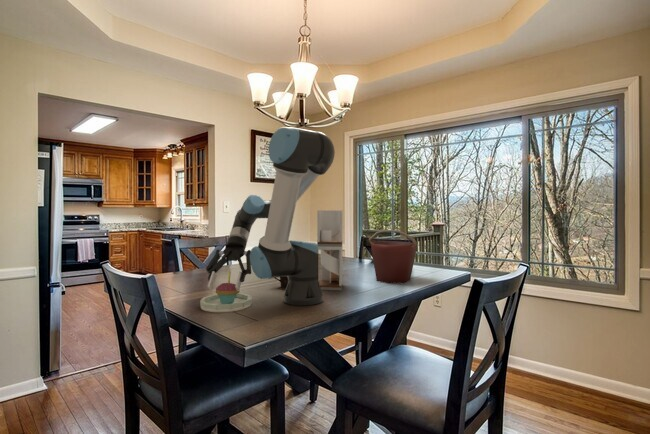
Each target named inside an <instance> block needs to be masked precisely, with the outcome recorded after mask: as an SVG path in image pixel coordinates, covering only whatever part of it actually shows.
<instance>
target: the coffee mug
mask: <svg viewBox="0 0 650 434" xmlns="http://www.w3.org/2000/svg"><path fill="white" fill-rule="evenodd" d="M274 279H275V280H277V281H279V282H280V288H282V289H286V287H287V284H288V276H283V277H279V278H278V277H276V278H274Z"/></svg>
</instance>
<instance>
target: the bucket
mask: <svg viewBox="0 0 650 434" xmlns="http://www.w3.org/2000/svg"><path fill="white" fill-rule="evenodd" d="M386 232H393V233H394V232H395V233H398V234H401V235H403V236H404V237H407V238H408V239H409V240H410V241H411V242H410V241H409V242H408V241H393V240H392V241H391V240H386V241H385V240H384V241H371V240H372V239H375V238H376V237H377V236H378V235H379V234H381V233H386ZM368 241H369V243H370V245H371V246H370V247H371V249H370V250H371V255H372V263H373V266H374V274H375V279H376V282H379V281H380V283H384V282H385V283H386V284H406V283H408V282H410V281H411V277H412V273H413V267H414V263H415V257H416V253H417V245H418V242H417V241H416V239H414V237H413V236H412V235H410V234H408V233H406V232H404V231H402V230H397V229H394V230H393V229H391V230H381V231H376V232H375V233H374V234H373V235H371V237H369V238H368ZM385 283H384V284H385Z"/></svg>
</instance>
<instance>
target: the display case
mask: <svg viewBox="0 0 650 434" xmlns="http://www.w3.org/2000/svg"><path fill="white" fill-rule="evenodd" d="M343 211H344V210H342V209H341V210H336V209H335V210H333V209H331V210H325V209H324V210H322V209H321V210H317V212H316V213H317V214H316V215H317V216H316V218H317V219H316V221H317V222H316V224H317V225H316V226H317V228H316V229H317V230H316V231H317V233H316V236H317V239H316V244H317V245H318V251H320V265H321V274H322V276H321V279H320V280H319V284H320V287H321V290H322V291H342V289H343Z"/></svg>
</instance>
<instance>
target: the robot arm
mask: <svg viewBox="0 0 650 434" xmlns="http://www.w3.org/2000/svg"><path fill="white" fill-rule="evenodd" d="M268 144H269V145H268V157H269V160H270V161H271V162H272V167H273V169H275V172H276V173H275V178H274V182H273V189H272V193H271V194H272V195H271V200H269V199H268V200H267V199H264V198H263V197H261V196H260V195H257V194H250V195H249V196H247V197H246V199H245V200H244V201H243V204H242V206H241V208H240V209H238V211H237V212H236V214H235V216H234V221H233V223H232V224H233V225H232V227H231V230H230V233H229V236H228V238H227V243H226V245H225V248H224V249H223V250H220V249H216V251H215V254H214V256H213V257H212V259H211V260H210V262H209V263H208V264H207V266H206V268H205V270H206V272H207V274H208V275H207V276H208V277H207V280H208V283H207V285H206V287H207V289H208V290H209V291H212V290H213V288H214V284H215V282H216V278H217V273H218V271H219V270H221V268H223V267H224V265H225V264H228V262H231V261H233V262H238V265H239V268H240V270H241V271H239V272H238V274H237V275H238V276H237V279H236V283H235V284H236V286H235V288H236V290H237V291H240V290H239V289H240V288H241V285H242V283H244V282H245V279H246V275H251V274H252V273H254V275H255V276H256V277H257V278H258V279H261V280H262V279H263V280H265V279H268V280H270V279H275V278H280V277H283V276H288V284H287V287H286V288H285V291H284V294H283V302H284V303H285V304H287V305H292V306H312V305H318V304H320V303H322V302H323V301H324V294H323V290H321V287H320V284H319V281H320V280H319V256H320V253H319V250H318V245H317V242H309V241H301V240H293V239H292V240H291V239H290V234H291V230H292V229H291V228H292V225H293V221H294V215H295V209H296V205H297V202H298V201H299V200H300V198H302V196H303V195H304V194H305V193H306V192H307V191H308V189H309V188H310V187H311V186H312V184H314V182H315V181H316V180H317V179H318V178H319V176H323V175H324V174H326V173H327V172H328V170H329V169H330V168H331V166H332V165H333V163H334V160H335V153H336V152H335V151H336V150H335V146H334V145H335V144H333V141H332V139H331V138H330V137H329V136H328V135H326V134H325V133H324V132H321V131H318V130H317V131H314V130H309V129H303V128H298V127H292V126H291V127H288V126H282V127H280V128H278V129H277V130H276V131H275V132H274V133H273V134H272V136H271V138H270V141H269V143H268ZM257 219H267V222H266V226H265V232H264V236H262V237H261V238H259V240H258V245H257V246H253V247H252V248H251V249H248V250H246V247H247V243H248V242H249V241H248V240H249V236H250V233H251V230H252V227H253V225H254V223H255V222H256V220H257ZM244 256H245V260H246V261H245V262H246V263H245V264H246V268H245V267H244V264H243V261H242V259H241V258H242V257H244Z"/></svg>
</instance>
